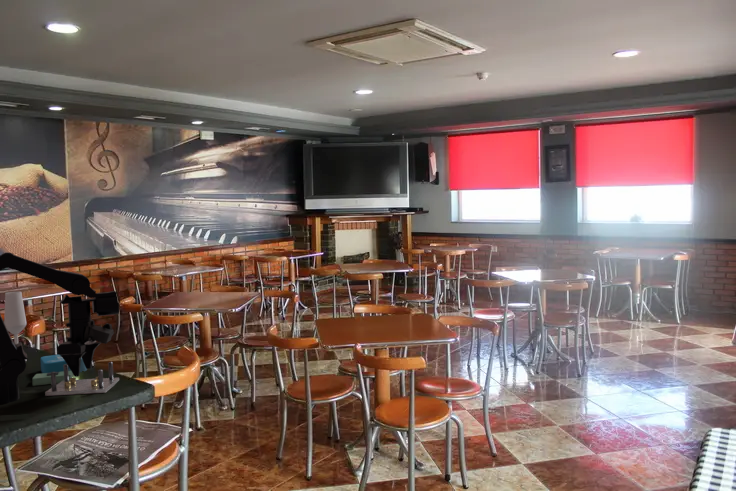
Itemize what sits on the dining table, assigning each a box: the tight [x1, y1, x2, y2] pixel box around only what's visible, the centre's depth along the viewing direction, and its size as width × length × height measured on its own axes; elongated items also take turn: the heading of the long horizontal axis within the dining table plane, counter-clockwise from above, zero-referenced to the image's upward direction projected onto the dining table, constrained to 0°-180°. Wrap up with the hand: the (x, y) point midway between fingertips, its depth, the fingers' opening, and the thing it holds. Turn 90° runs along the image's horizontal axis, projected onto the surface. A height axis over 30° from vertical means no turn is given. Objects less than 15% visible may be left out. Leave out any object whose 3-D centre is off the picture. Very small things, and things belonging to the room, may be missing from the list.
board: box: [32, 371, 74, 387], centre depth 183 cm, size 6×10×3 cm, turn 109°
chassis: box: [44, 361, 120, 397], centre depth 174 cm, size 12×16×6 cm
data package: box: [39, 354, 88, 374], centre depth 194 cm, size 12×4×12 cm
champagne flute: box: [3, 291, 28, 362], centre depth 208 cm, size 7×7×24 cm
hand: (82, 372), depth 174 cm, fingers open, 8 cm apart
